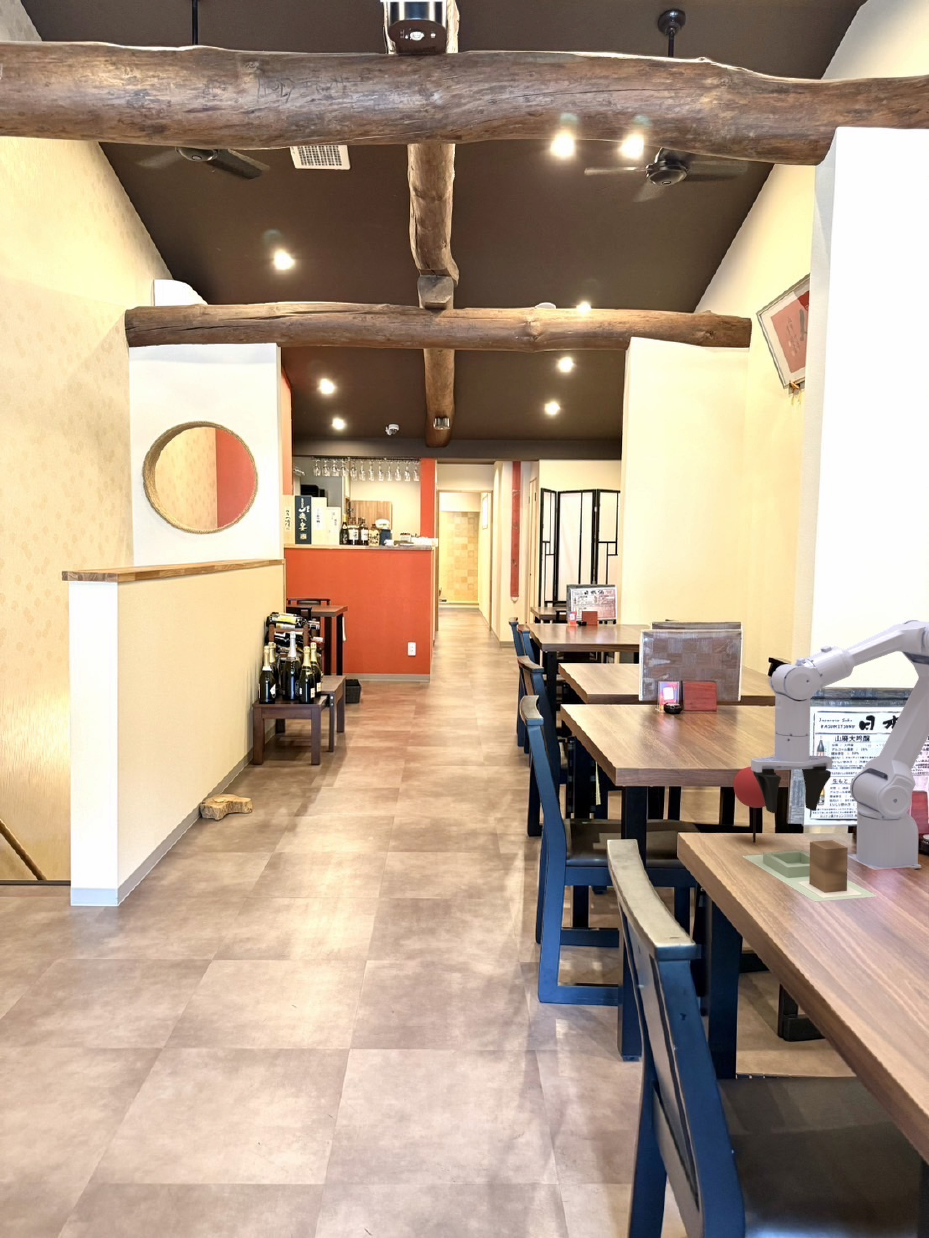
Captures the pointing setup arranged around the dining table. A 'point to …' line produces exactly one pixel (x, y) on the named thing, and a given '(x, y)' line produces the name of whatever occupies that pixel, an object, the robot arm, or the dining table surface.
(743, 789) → the lollipop
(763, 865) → the pocket board
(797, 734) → the robot arm
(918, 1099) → the dining table surface
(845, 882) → the walnut post
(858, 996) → the dining table surface
